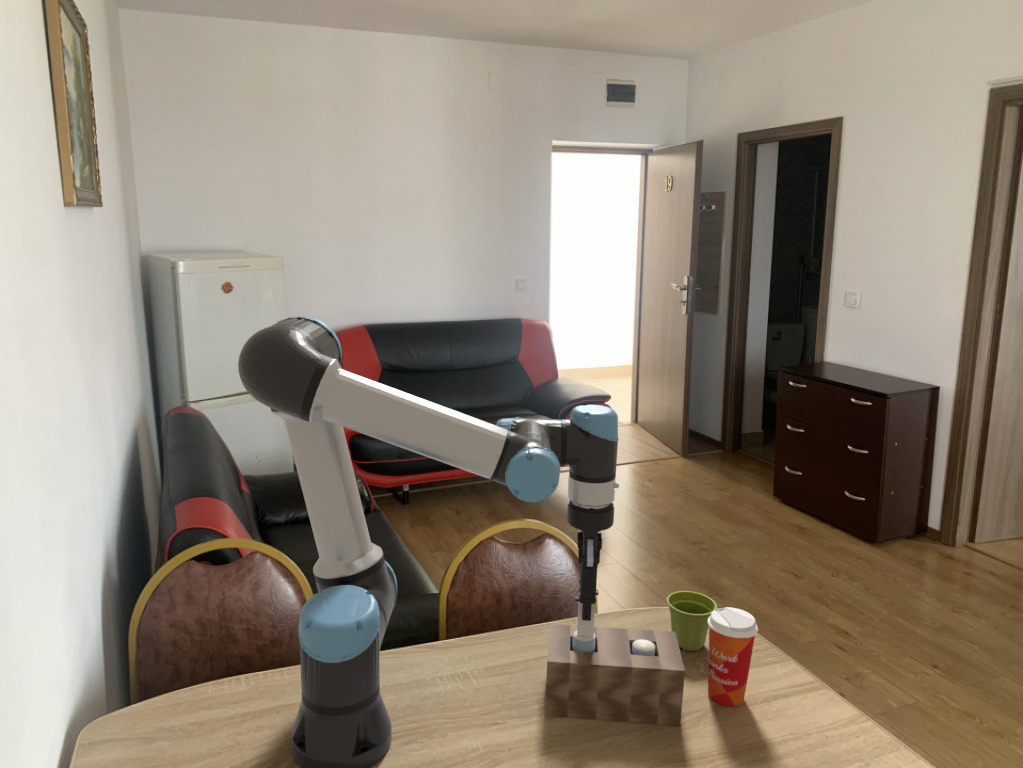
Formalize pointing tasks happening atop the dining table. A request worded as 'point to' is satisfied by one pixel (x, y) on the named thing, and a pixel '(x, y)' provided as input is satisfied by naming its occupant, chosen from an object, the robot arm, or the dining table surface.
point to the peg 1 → (583, 643)
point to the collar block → (614, 677)
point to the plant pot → (690, 618)
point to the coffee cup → (729, 654)
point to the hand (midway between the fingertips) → (585, 633)
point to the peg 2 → (643, 648)
